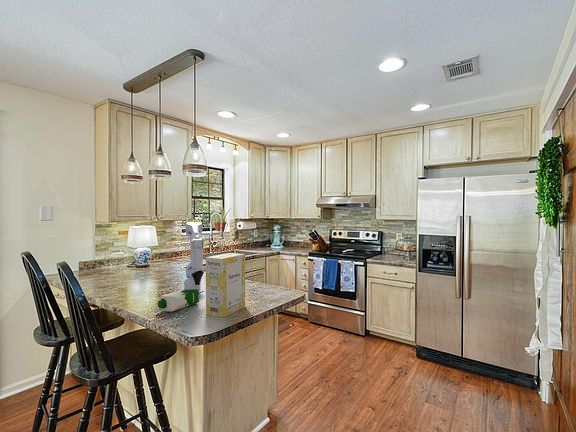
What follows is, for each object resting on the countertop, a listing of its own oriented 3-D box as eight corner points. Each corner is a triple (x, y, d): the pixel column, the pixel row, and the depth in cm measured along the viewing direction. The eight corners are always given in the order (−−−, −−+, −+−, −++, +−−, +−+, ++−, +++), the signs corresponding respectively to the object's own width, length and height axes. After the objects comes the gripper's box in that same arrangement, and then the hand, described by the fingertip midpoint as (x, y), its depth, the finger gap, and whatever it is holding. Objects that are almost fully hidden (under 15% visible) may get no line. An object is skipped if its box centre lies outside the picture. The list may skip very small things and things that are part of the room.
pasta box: (222, 317, 141) (222, 258, 141) (206, 314, 146) (205, 257, 145) (245, 306, 157) (245, 254, 157) (229, 304, 162) (229, 252, 162)
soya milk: (188, 287, 166) (156, 295, 149) (199, 287, 162) (168, 295, 145) (189, 303, 166) (157, 313, 148) (200, 303, 161) (169, 314, 144)
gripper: (195, 262, 156) (195, 288, 156) (211, 258, 170) (211, 282, 170) (184, 262, 158) (184, 287, 159) (200, 258, 172) (200, 281, 172)
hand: (197, 284), depth 164 cm, fingers closed
